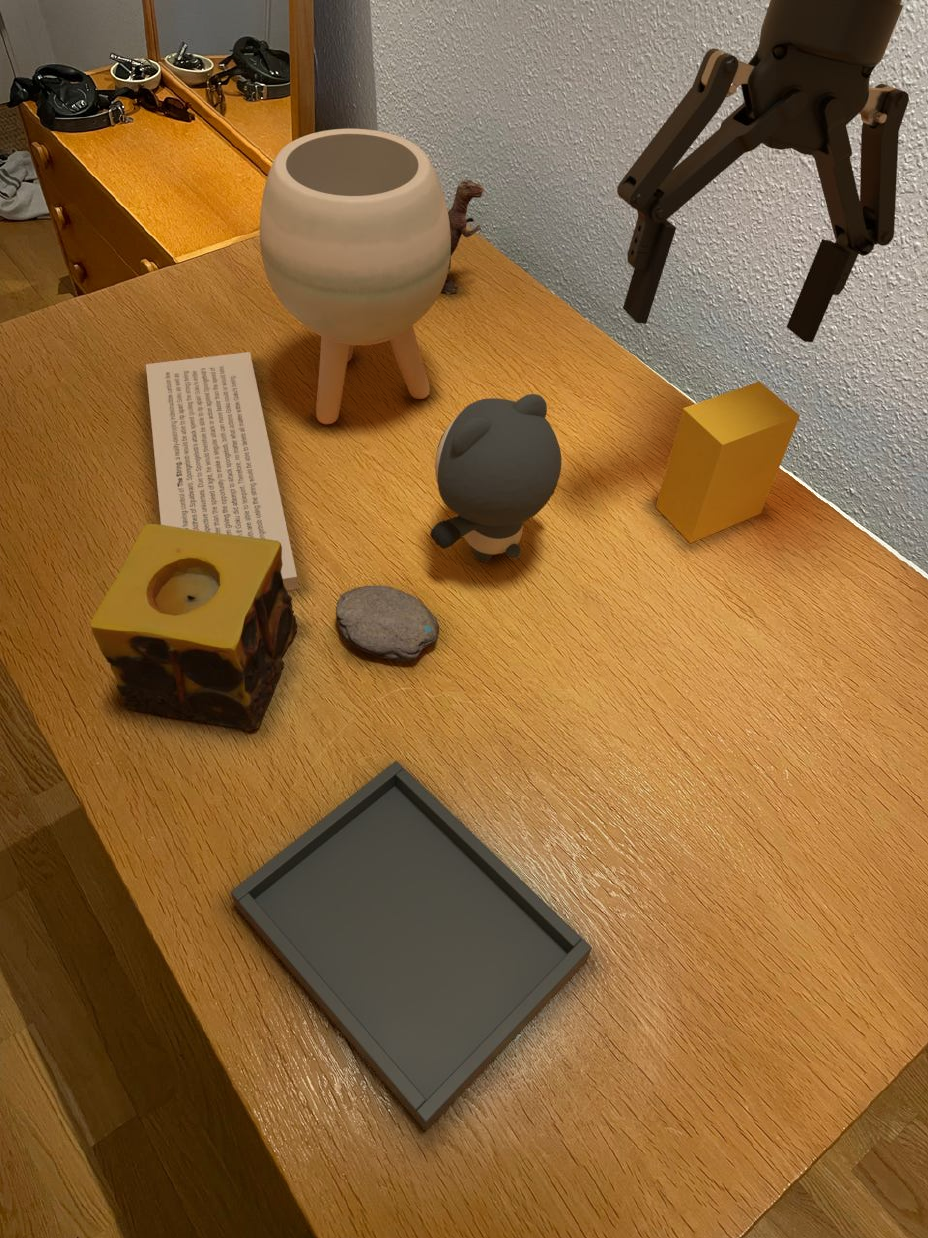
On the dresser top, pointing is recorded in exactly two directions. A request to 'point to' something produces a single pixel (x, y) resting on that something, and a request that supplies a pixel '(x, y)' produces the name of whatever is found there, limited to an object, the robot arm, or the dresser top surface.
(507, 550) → the toy
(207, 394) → the plaque
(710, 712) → the dresser top surface
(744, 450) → the yellow block
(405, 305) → the planter
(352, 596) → the stone
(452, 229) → the dinosaur model
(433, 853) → the tray
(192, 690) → the candle
